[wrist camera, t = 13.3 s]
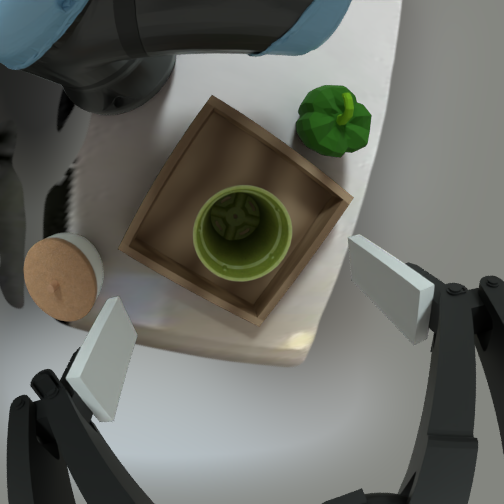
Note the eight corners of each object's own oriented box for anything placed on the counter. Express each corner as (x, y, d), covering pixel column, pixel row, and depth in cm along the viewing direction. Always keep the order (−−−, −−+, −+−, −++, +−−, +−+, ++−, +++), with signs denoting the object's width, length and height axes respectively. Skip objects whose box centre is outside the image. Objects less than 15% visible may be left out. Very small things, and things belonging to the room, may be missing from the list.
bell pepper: (339, 163, 36) (379, 168, 27) (281, 147, 35) (307, 146, 25) (351, 105, 34) (392, 95, 25) (294, 87, 32) (322, 67, 23)
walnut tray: (128, 237, 36) (117, 249, 31) (211, 102, 32) (212, 94, 27) (253, 307, 41) (259, 326, 37) (336, 191, 38) (353, 197, 33)
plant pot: (286, 227, 37) (308, 249, 29) (223, 266, 37) (227, 298, 29) (249, 163, 33) (261, 165, 25) (181, 205, 34) (173, 221, 26)
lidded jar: (108, 303, 38) (87, 340, 29) (47, 281, 36) (17, 311, 27) (120, 235, 35) (95, 260, 27) (54, 214, 33) (17, 232, 24)
